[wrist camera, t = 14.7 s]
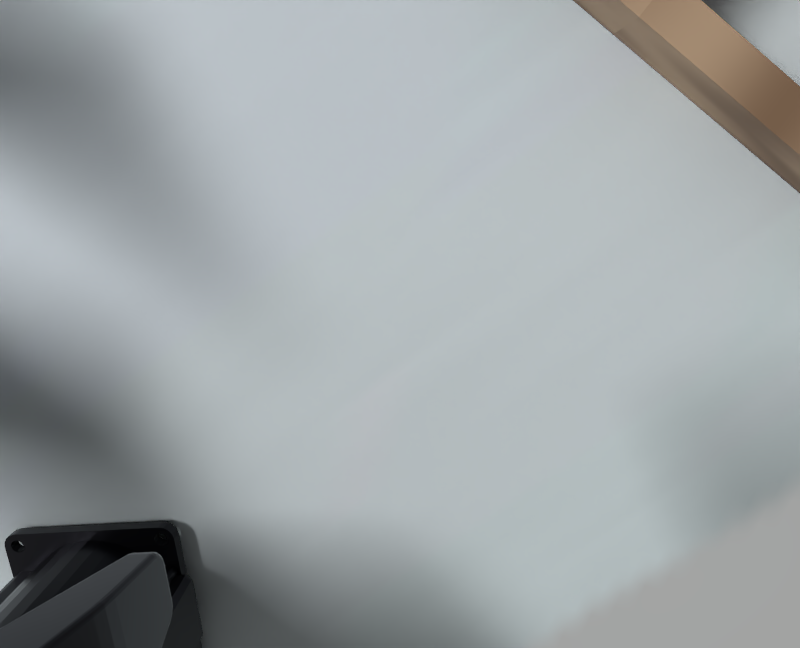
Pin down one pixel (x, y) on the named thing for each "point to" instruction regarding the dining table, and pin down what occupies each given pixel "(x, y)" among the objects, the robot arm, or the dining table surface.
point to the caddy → (713, 73)
